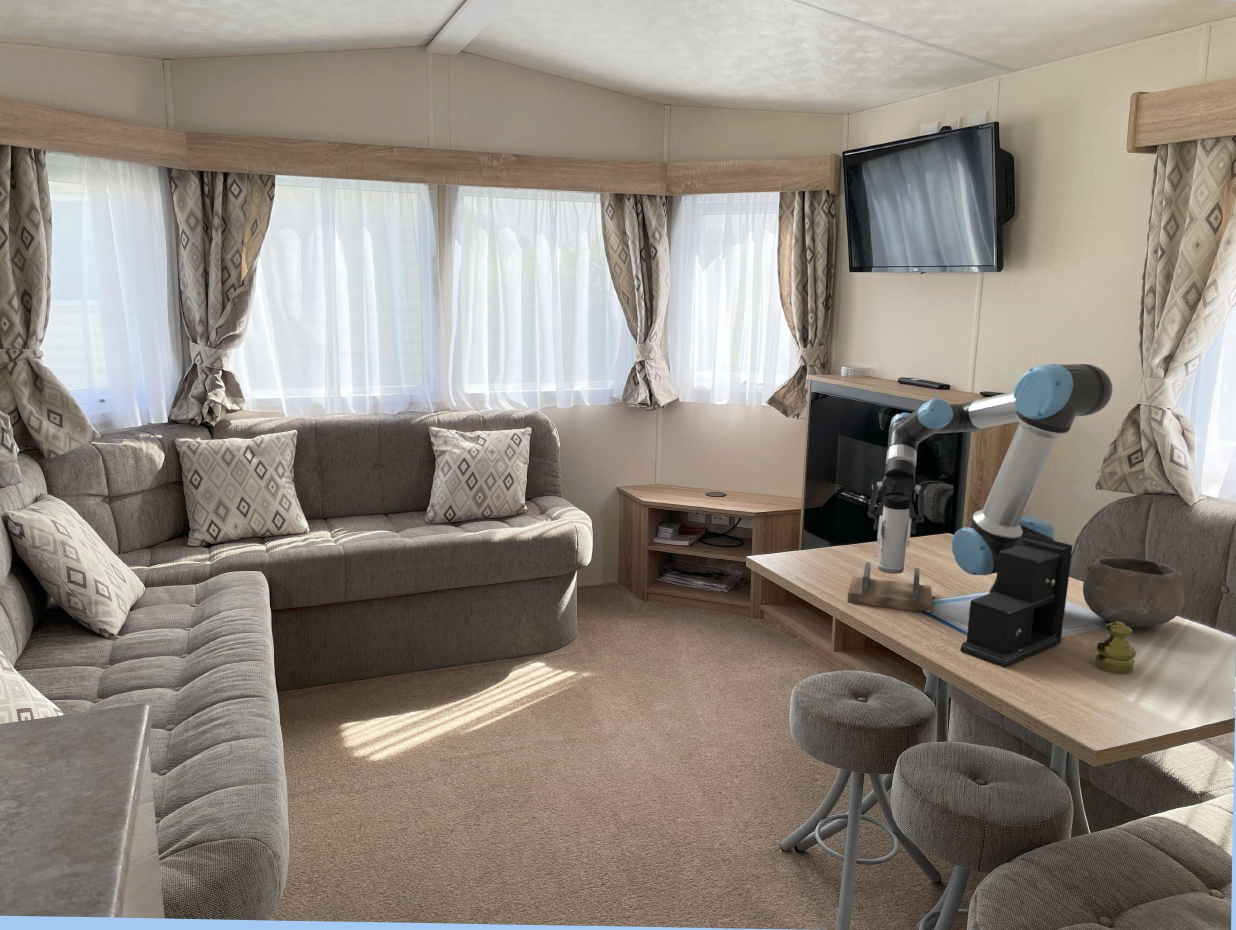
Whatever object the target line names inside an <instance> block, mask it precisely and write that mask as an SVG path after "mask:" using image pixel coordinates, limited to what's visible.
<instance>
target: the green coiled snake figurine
mask: <svg viewBox="0 0 1236 930" xmlns="http://www.w3.org/2000/svg"><path fill="white" fill-rule="evenodd" d="M1104 627H1105V629H1106V630H1107V631H1108V632H1109V633H1110V636H1108V637H1107V638H1105V639H1104V640H1100V641H1098V642H1097V643H1096V647H1095V650H1096V653H1094V655H1095V656H1094V665H1095V666H1096V667H1097V668H1099V669H1101V670H1103V671H1106V672H1109V673H1113V674H1119V675H1120V674H1122V675H1123V674H1125V675H1126V674H1130V673H1132V672H1133V671H1134V667H1135V663H1136V662H1135V659H1134V658H1135V657H1136V655H1137V651H1136V649H1135V648H1134V647H1133V646H1132V645H1130V643H1129V642H1128V641H1127V639H1126V637H1127V636H1128V635H1130V634H1132V633H1133V629H1132V627H1129V626H1127V625H1125V624H1124V623H1123V622H1118V621H1117V622H1109V623H1106V624H1105V626H1104Z"/></svg>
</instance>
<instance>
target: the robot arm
mask: <svg viewBox="0 0 1236 930" xmlns="http://www.w3.org/2000/svg"><path fill="white" fill-rule="evenodd" d="M1013 389H1014V390H1013V391H1011V392H1006V393H1002V394H998V395H993V396H989V397H984V398H980V399H977V400H972V401H969V402H962V403H949V402H947V401H946V400H942V399H941V398H940V397H936V398H932V399H930V400H927V401H926V402H924V403H923V404H921V405H920V407H918V408H917V409H915V410H913V412H911V413H910V412H901V413H897V414H895V415H894V416H893V417H892V418H891V422H890V425H889V429H888V442H887V451H886V452H887V453H886V459H885V463H886V465H885V470H884V471H885V472H884V477H883V479H882V480H881V481H877V480H872V481H871V491H872V492H871V496H870V500H869V506H868V511H867V516H868V517H869V518H873V519H874V522H873V531H877V540H876V543H877V544H880V540H881V530H882V519H883V508H884V503H885V502H884V498H885V495H884V496H883V498H882V499H881V502H880V503H879V506H878V507H877V509H876V510H875V508H876V504H877V498H878V495H879V494H878V493H879V491H881V488H883V489H884V491H885V494H887V493H890V492H895V491H900V492H902V493H904V494H907V495H909V496H910V504H909V519H908V528H907V539H906V547H910V539H911V534H912V535H915V533H916V529H917V528H916V527H917V523H922V524H923V523H924V521H925V520H924V519H925V494H926V491H927V486H926V485H924V484H923V485H918V484H917V483H916V481H915V479H916V478H915V477H916V466H917V458H918V457H917V455H918V445H919V443H921V442H922V441H924V440H926V439H927V438H929V437H930V436H932V435H934V434H947V433H949V434H950V433H962V432H963V433H966V432H967V433H973V432H978V431H982V430H984V429H985V428H991V427H997V426H1001V425H1006V424H1007V425H1008V424H1012V423H1018V425H1017V427H1016V430H1015V432H1014V435H1013V437H1012V440H1011V442H1010V444H1009V447H1008V449H1007V452H1006V454H1005V456H1004V458H1003V461H1002V463H1001V466H1000V468H999V470H998V473H997V475H996V477H995V480H994V482H993V485H992V487H991V489H990V491H989V494H988V497H987V498H986V499H987V500H986V501H985V504H984V506H983V508H982V509H981V510H977V511H975V512H974V513H973V515H972V517H971V520H970V522H969V523H968V524H969V525H968V526H967V527H966V526H963V527H962V528H960V529H958V530H957V531H956V532H954V535H953V537H952V540H951V550H952V551H951V552H952V554H953V555H954V560H955V562H956V563H957V565H958V566H959V567H960V568H961V570H963V572H964V573H967V574H968V575H971V576H989V575H993V574H997V568H998V560H999V553H1000V551H1002V550H1005V549H1009V548H1012V547H1016V546H1019V545H1022V544H1023V540H1024V537H1025V536H1026V535H1027V534H1028V535H1032V536H1037V537H1041V538H1045V539H1049V540H1053V541H1056V540H1055V526H1054V525H1053V524H1052V523H1051V522H1049V521H1046V520H1044V519H1040V518H1036V517H1032V516H1026V515H1025V514H1024V513H1025V512H1026V510H1027V508H1028V505H1029V503H1030V501H1031V498H1032V496H1033V495H1034V492H1035V490H1036V488H1037V485H1038V483H1039V480H1040V478H1041V476H1042V474H1043V471H1044V469H1045V468H1046V465H1047V463H1048V461H1049V459H1050V457H1051V454H1052V452H1053V449H1054V448H1055V446H1056V443H1057V441H1058V438H1059V436H1062V435H1065V434H1068V433H1069V432H1070V429H1071V427H1072V425H1073V423H1074V421H1075V419H1076V417H1084V416H1085V417H1087V416H1091V415H1093V414H1096V413H1099V412H1100V411H1102V410H1103V409H1104V408H1106V406H1107V405H1108V404H1109V402H1110V401H1111V400H1112V396H1113V390H1114V389H1113V383H1112V380H1111V378H1110V377H1109V374H1108V373H1106V372H1105V371H1104V370H1103V369H1102V368H1101V367H1098V366H1096V365H1092V364H1088V363H1079V364H1078V363H1077V364H1076V363H1075V364H1074V363H1073V364H1072V363H1069V364H1058V363H1047V364H1043V365H1042V364H1041V365H1036V366H1034V367H1031V368H1030V369H1027V370H1026V371H1025V372H1023V374H1021V376H1020V377H1019V378H1018V379H1017V382H1016V384H1015V386H1014V388H1013ZM914 491H916V494H917V496H918V499H917V501H918V503H917V505H918V506H917V507H918V515H917V514H916V511H915V510H916V509H915V507H914V504H913V502H912V499H911V494H912V493H913V492H914ZM996 578H997V576H996V577H995V579H994V581H993V583H992V584H991V585H992V586H991V587H990V589H989V591H988V594H991V593H994V592H995V587H996ZM988 594H987V595H988Z"/></svg>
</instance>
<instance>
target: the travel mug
mask: <svg viewBox="0 0 1236 930" xmlns="http://www.w3.org/2000/svg"><path fill="white" fill-rule="evenodd" d="M884 496H885V498H884V497H883V498H884V502H885V503H884V508H883V514H882V516H883V519H882V530H881V540H880V543H879V555H878V563H877V569H878V570H879V571H881V572H882V573H886V574H892V575H895V574H896V575H897V574H898V575H899V574H902V573H904V569H905V558H906V551H907V550H906V549H907V546H906V539H907V528H908V519H910V517H909V504H910V497H911V495H910V496H909V495H907V494H904V493H902V492H900V491H895V492H890V493H887V494H886V493H885V494H884Z"/></svg>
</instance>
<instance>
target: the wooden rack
mask: <svg viewBox="0 0 1236 930" xmlns="http://www.w3.org/2000/svg"><path fill="white" fill-rule="evenodd" d="M871 567H872V562H869V561H866V562H865V566H864V571H863V576H862V577H861V576H854V575H853V576H851V579H850V583H849V587H848V591H847V601H851V602H850V603H852V602H857V603H856V604H860V603H864V604H863V605H867V604H868V605H869V606H875V607H877V606H878V607H885V608H891V609H899V610H906V611H907V610H908V611H914V612H915V611H916V612H923V611H931V612H932V602H933V601H932V600H933V598H932V597H933V595H932V586H931V585H927V584H921V583H920V570H921V569H920V568H919V567H914V571H913V573H914V574H913V582H912V583H911V582H903V581H894V580H888V579H886V580H885V579H878V578H870V576H871Z"/></svg>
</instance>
